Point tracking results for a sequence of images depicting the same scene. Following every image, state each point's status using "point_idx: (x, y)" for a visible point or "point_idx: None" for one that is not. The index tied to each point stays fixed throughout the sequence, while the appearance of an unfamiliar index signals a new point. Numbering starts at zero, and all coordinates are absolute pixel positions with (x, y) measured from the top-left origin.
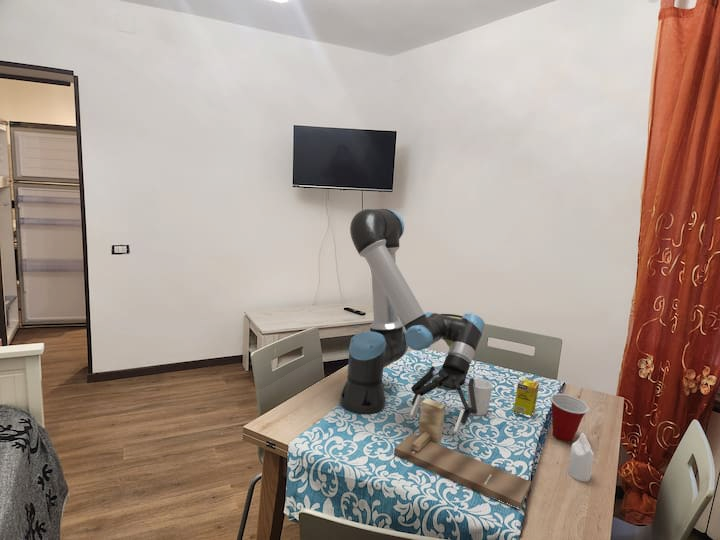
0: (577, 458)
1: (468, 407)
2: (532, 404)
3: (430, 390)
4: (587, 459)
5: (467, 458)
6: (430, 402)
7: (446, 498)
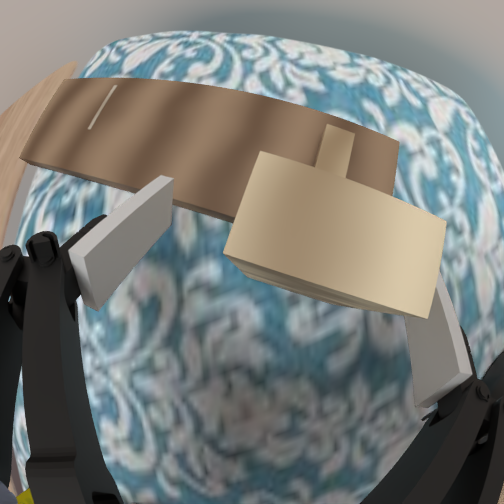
0: None
1: (27, 243)
2: (16, 498)
3: (391, 474)
4: None
5: (141, 172)
6: (381, 237)
7: (213, 46)
